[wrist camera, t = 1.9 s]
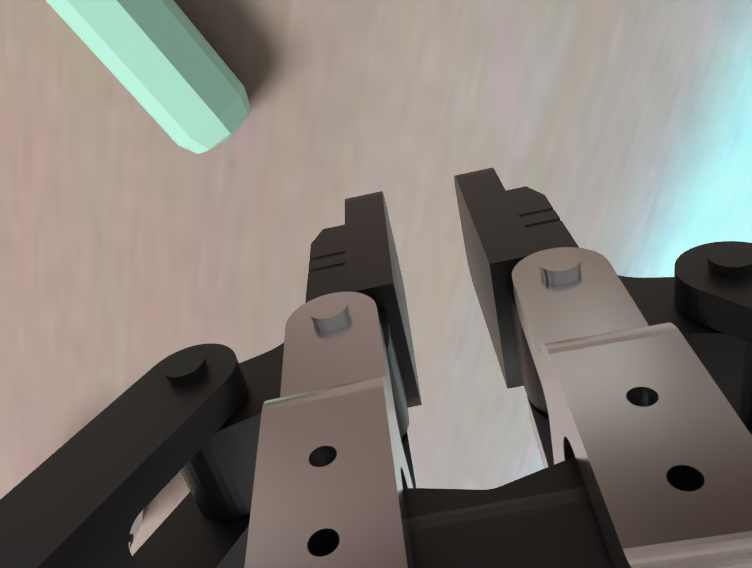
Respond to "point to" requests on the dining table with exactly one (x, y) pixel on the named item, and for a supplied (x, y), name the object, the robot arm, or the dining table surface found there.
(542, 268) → the robot arm
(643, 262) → the dining table surface
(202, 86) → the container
